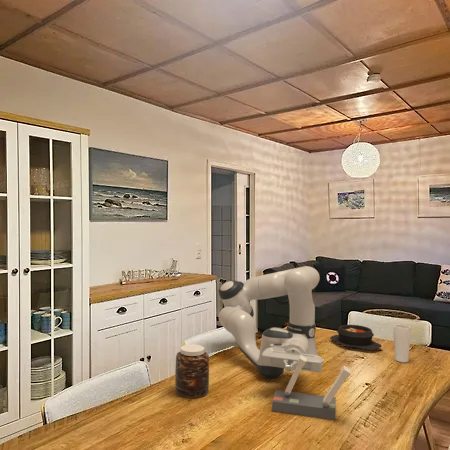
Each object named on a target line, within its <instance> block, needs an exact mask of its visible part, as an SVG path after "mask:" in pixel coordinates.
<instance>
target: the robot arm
mask: <svg viewBox="0 0 450 450" xmlns="http://www.w3.org/2000/svg"><path fill="white" fill-rule="evenodd" d="M320 278H321V277H320V272H318V270H317V269H316V268H314V267H312V266H307V265H305V266H298V267H295V268H289V269H286V270H282V271H276V272H272V273H266V274H263V275H258V276H254V277H251V278H248V279H247V280H245V281H244V282H242V281H239V280H227V281H225V282H223V283H222V284H221V285H220V287H219V289H218V295H219V298H220V299H221V301H222V304H223V306H224V307H223V308H222V309H221V310H220V311H219V314H218V322H219V323H220V325H221V326H222V327H223V328H224V329H225V330H226V331H227V332H229V333H230V334H231V335H232V336H233V338H234V340H235V341H236V344H237V346H238V349H239V350H240V351H241V353H242V354H243V355H244V356H245V357H246V358H247V359H248V360H249V361H250V362H251V363H252V365H253V366H255V367H254V368H255V369H256V370H257V372H258V374H260V376H262V377H264V378H265V379H267V380H277V379H278V378H279V377H281V376H282V375H283V374H284V373H285V371H286V372H293V371H294V370H295V368H296V366H297V362H298V359H299V357H300V355H302V356H304V357H306V358H307V360H306V363H305V365H304V367H302V369H301V371H302V372H303V371H305V372H313V373H322V372H323V364H324V363H325V359H324V358H322V357H321V356H320V355H318V351H317V350H318V349H317V343H316V336H315V335H316V328H317V327H316V326H317V325H316V323H315V319H316V316H315V315H316V313H315V312H316V305H315V303H314V300H313V293H312V290H314V289H315V288H316V287H317V286H318V284H319V282H320ZM284 296H287V297H288V303H289V320H288V322H286V323H285V324H284V326H286V328H282V327H279V326H278V327H276V326H274V327H270V328H267V329H265V330H264V331H263V332H262V334H261V340H260V348H258V346H257V342H256V340H257V339H256V322H255V319H254V315H255V314H254V313H255V312H254V309H253V307H252V305H251V301H252V300H253V301H255V300H267V299H272V298H278V297H284Z"/></svg>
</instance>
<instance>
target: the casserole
mask: <svg viewBox="0 0 450 450" xmlns="http://www.w3.org/2000/svg"><path fill="white" fill-rule="evenodd" d="M336 332H337V334H336V335H334V334H333V335H332V336H330V337H329V338H330V340H332V341H334V342H335V343H337V344H339V345H341V346H344V347H346V348H349V349H356V350H361V349H362V350H366V351H367V350H368V351H371V350H377V349H380V348H382V344H380V343H378V342H375V341H374V340H373V337H374V336H375V335H374V333H373V330H372V329H371V328H370V327H368V326H364V325H359V324H357V325H356V324H344V325H340V326H339V327H338V329H337V331H336Z"/></svg>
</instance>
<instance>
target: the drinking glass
mask: <svg viewBox="0 0 450 450" xmlns="http://www.w3.org/2000/svg"><path fill="white" fill-rule="evenodd" d="M411 337H412V329H411V326H410V325H407V324H398V323H397V324H393V345H394V360H395V361H396V362H398V363H403V364H404V363H408V362H409V354H410V346H411Z"/></svg>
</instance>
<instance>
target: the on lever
mask: <svg viewBox="0 0 450 450" xmlns="http://www.w3.org/2000/svg"><path fill="white" fill-rule="evenodd" d="M351 375H352V372H351V368H348V367H347V366H346V365H343V366H342V368H341V369H340V372H339V373H338V376H337V377H336V379H335V380H334V382H333V383H332V385H331V387H330V388H329V389H328V391H327V392H326V393H325V395H324V396H325V397H324V399H323V406H324V407H327V406H328V405H329V403H330V402H331V400H332V399H333V397H335V396H336V395H337V393H338V392H339V390H340V388H341V387H342V385H343V384H344V382H345V381H346V379H349V377H350V376H351Z"/></svg>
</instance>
